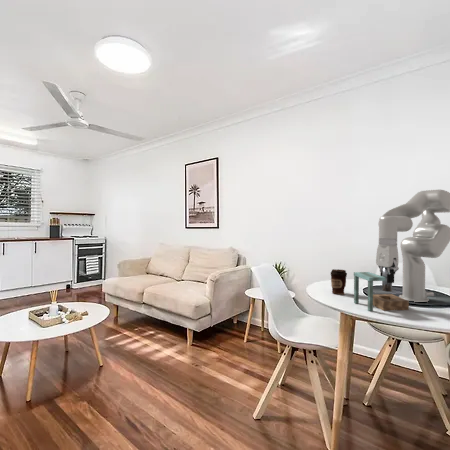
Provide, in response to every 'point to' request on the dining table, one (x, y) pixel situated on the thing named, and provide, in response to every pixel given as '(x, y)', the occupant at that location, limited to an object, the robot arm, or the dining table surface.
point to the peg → (386, 285)
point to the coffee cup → (338, 281)
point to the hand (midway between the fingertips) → (387, 281)
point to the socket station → (378, 300)
